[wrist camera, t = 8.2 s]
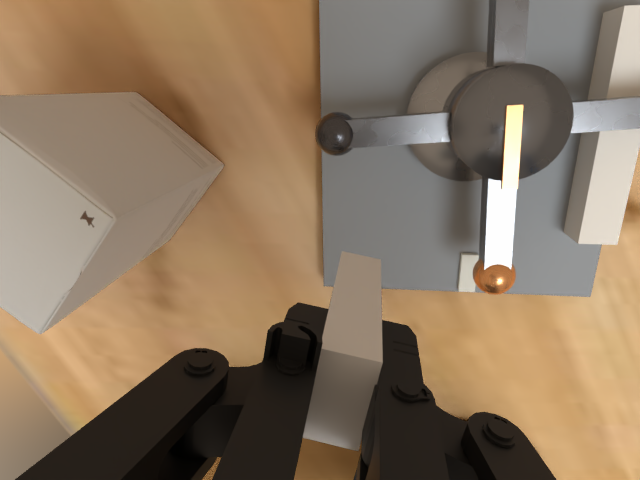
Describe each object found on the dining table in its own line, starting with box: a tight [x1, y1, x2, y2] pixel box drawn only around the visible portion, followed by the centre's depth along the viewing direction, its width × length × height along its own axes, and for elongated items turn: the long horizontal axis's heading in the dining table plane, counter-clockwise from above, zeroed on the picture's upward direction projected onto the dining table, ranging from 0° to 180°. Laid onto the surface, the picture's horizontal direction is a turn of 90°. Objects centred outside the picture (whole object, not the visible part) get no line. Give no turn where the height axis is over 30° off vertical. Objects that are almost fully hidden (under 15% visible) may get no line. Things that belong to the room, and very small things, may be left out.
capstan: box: [315, 0, 640, 294], centre depth 25 cm, size 22×22×6 cm
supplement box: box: [0, 92, 224, 334], centre depth 28 cm, size 9×9×15 cm
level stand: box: [319, 0, 640, 297], centre depth 29 cm, size 24×21×4 cm
